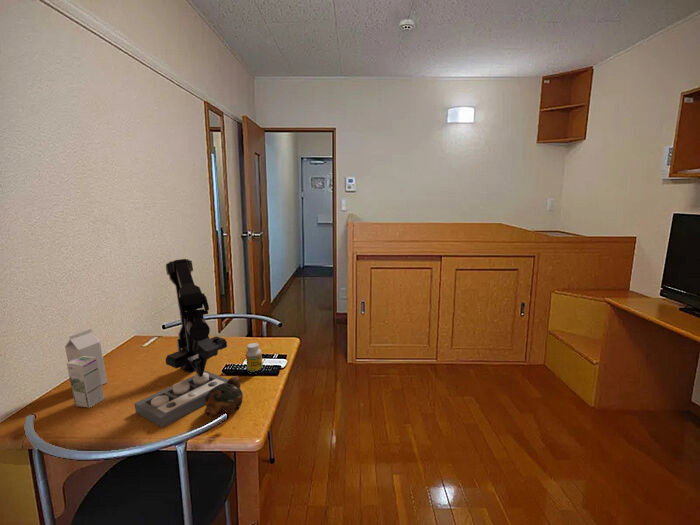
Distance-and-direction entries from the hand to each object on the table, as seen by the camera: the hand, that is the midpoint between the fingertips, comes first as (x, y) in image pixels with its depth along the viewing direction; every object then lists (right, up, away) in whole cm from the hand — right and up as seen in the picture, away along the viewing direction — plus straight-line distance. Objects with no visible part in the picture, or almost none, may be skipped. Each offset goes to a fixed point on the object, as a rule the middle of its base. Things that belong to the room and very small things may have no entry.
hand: (200, 376), depth 130 cm
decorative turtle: (+12, -7, -12) cm, 18 cm away
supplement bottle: (+15, -2, +12) cm, 19 cm away
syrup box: (-32, -7, -5) cm, 34 cm away
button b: (-4, -3, -5) cm, 7 cm away
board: (-2, -6, -6) cm, 9 cm away
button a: (-8, -6, -10) cm, 14 cm away
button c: (0, -2, 0) cm, 2 cm away
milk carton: (-39, -5, +6) cm, 40 cm away
